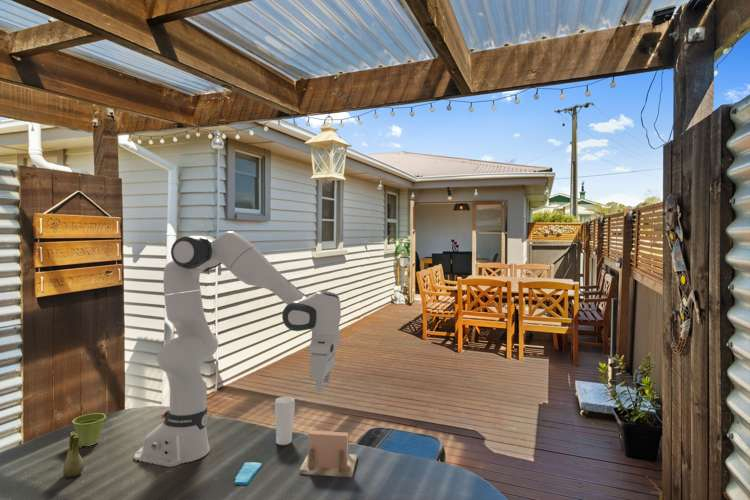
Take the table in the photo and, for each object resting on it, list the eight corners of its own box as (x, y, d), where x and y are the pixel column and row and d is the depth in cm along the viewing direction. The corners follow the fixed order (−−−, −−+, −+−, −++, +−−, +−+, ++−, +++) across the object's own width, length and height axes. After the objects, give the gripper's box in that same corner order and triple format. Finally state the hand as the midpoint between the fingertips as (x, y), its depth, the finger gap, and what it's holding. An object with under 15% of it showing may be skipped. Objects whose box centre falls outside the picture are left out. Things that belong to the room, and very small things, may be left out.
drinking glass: (289, 447, 141) (290, 403, 141) (270, 445, 142) (271, 401, 143) (296, 439, 148) (297, 397, 148) (279, 437, 149) (280, 395, 149)
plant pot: (110, 442, 142) (111, 417, 142) (79, 452, 134) (80, 426, 134) (97, 435, 147) (98, 411, 147) (66, 445, 139) (67, 419, 139)
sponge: (227, 482, 118) (246, 481, 117) (244, 461, 130) (262, 460, 129) (227, 487, 118) (247, 486, 117) (245, 466, 130) (263, 465, 129)
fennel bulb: (66, 471, 123) (68, 430, 123) (86, 468, 124) (88, 428, 125) (59, 481, 117) (61, 438, 117) (80, 478, 119) (82, 436, 119)
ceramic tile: (307, 466, 126) (308, 433, 126) (309, 462, 128) (310, 430, 129) (346, 469, 125) (347, 436, 125) (347, 465, 127) (348, 432, 128)
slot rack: (299, 473, 124) (300, 449, 124) (309, 455, 136) (309, 433, 136) (352, 477, 123) (352, 452, 123) (357, 458, 135) (357, 435, 135)
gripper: (322, 336, 142) (320, 376, 141) (307, 348, 121) (304, 395, 121) (341, 337, 141) (339, 377, 141) (328, 350, 121) (326, 397, 120)
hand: (323, 386), depth 131 cm, fingers open, 8 cm apart
